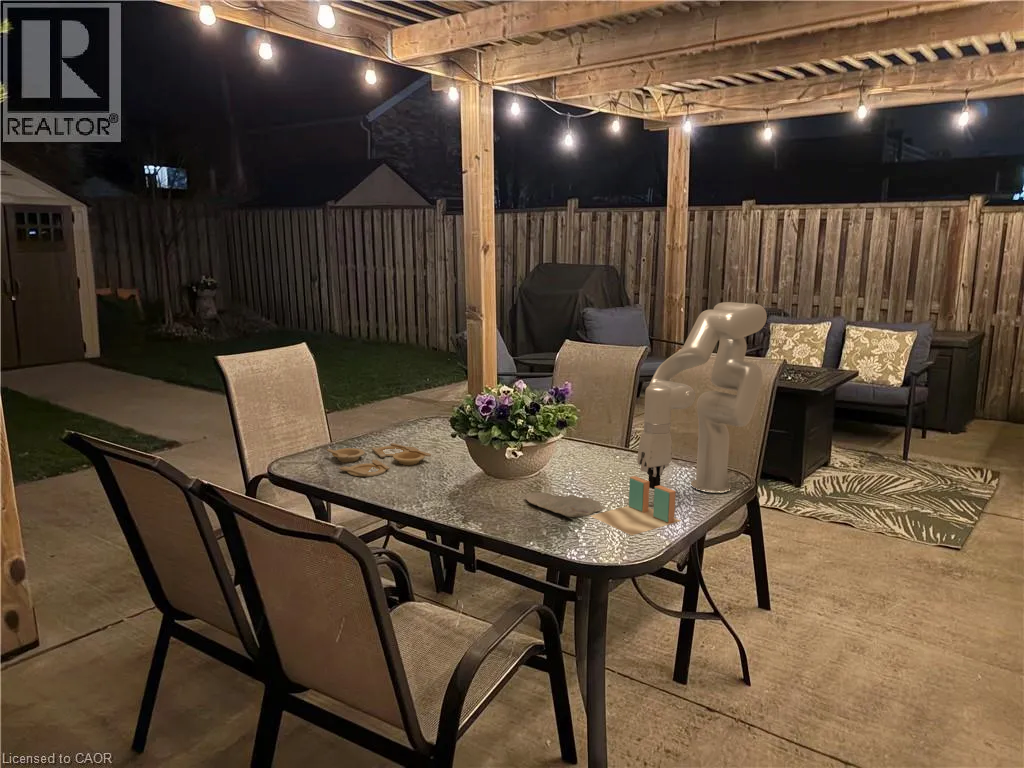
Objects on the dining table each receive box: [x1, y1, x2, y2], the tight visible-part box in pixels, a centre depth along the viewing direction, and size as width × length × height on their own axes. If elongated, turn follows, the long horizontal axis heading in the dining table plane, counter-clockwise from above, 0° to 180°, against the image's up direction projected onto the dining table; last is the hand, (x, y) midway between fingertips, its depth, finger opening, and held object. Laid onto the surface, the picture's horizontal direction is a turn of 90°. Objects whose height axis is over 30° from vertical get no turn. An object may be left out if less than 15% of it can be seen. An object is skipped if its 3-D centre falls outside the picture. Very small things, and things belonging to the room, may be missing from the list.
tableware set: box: [326, 442, 432, 478], centre depth 258 cm, size 35×29×4 cm
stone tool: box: [524, 492, 606, 518], centre depth 213 cm, size 20×3×25 cm
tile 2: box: [653, 484, 676, 523], centre depth 200 cm, size 2×6×9 cm, turn 34°
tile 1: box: [628, 475, 650, 513], centre depth 208 cm, size 2×6×9 cm, turn 34°
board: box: [590, 505, 682, 536], centre depth 202 cm, size 19×17×1 cm
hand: (654, 488), depth 211 cm, fingers closed
